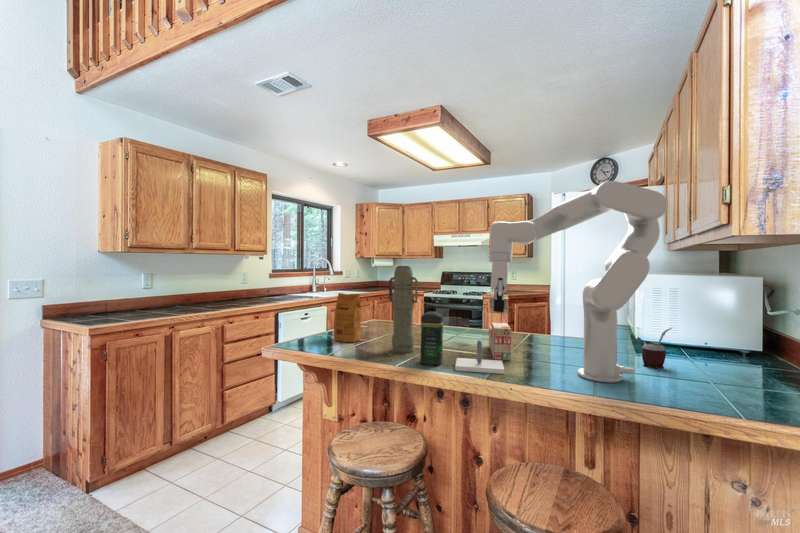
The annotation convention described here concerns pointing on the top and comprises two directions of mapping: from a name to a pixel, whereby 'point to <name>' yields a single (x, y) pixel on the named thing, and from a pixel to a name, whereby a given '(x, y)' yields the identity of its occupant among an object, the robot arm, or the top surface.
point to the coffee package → (347, 318)
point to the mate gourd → (654, 354)
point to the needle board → (479, 363)
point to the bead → (491, 305)
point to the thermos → (403, 309)
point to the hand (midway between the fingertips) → (498, 309)
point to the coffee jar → (431, 338)
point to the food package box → (500, 341)
